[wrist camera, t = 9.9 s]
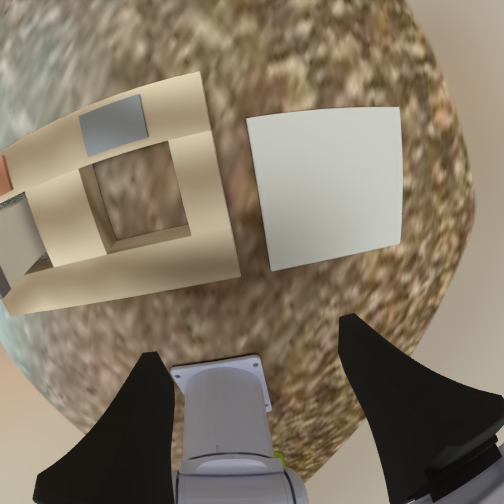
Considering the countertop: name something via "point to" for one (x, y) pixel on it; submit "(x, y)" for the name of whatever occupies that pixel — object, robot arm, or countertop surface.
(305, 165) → the mat
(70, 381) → the countertop surface
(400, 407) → the robot arm
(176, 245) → the socket plate
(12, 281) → the peg
